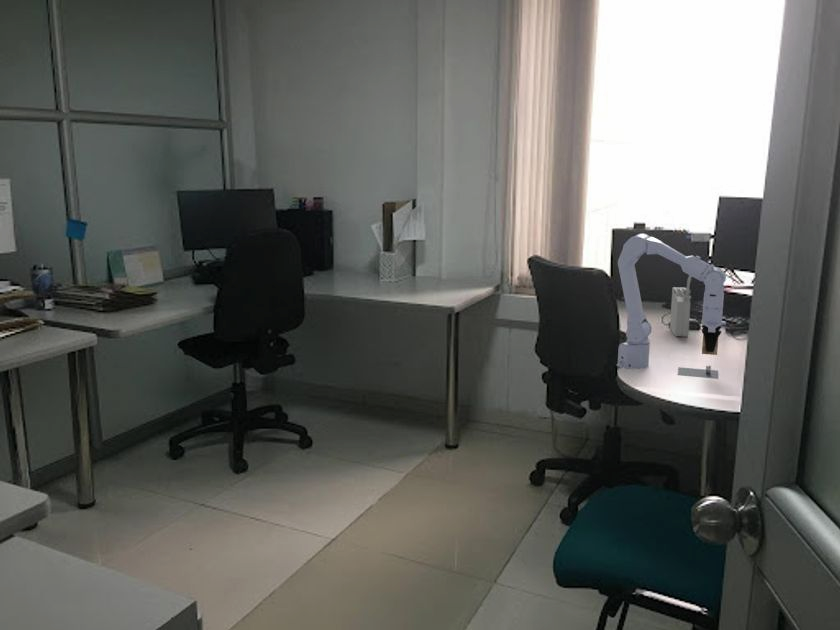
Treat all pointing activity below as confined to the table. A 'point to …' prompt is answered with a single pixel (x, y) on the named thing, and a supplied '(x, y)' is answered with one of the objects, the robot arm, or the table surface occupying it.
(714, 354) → the hollow block
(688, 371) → the pin plate
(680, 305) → the fuel canister
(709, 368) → the steel pin
